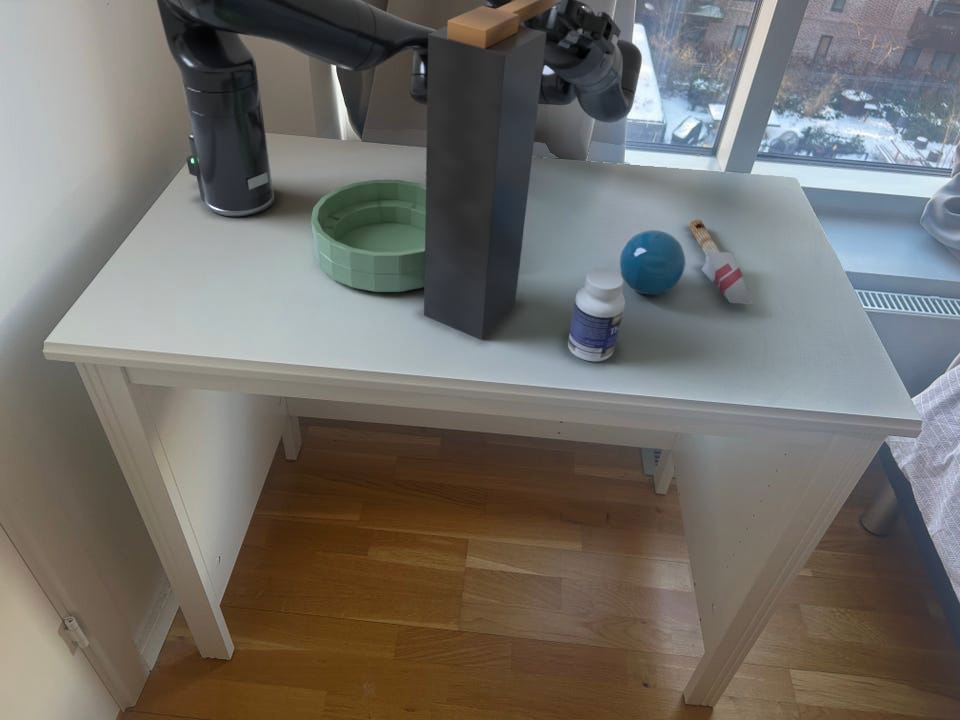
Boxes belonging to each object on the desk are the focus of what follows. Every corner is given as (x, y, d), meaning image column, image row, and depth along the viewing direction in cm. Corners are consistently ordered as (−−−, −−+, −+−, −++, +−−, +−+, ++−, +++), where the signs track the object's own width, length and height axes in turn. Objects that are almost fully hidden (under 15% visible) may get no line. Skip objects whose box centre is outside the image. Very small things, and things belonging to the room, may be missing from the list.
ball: (687, 288, 96) (703, 234, 90) (658, 315, 91) (674, 260, 85) (633, 264, 99) (645, 211, 94) (602, 289, 94) (614, 235, 89)
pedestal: (423, 315, 88) (428, 34, 67) (459, 283, 93) (473, 14, 72) (481, 340, 85) (505, 54, 64) (515, 305, 90) (546, 32, 69)
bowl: (285, 263, 94) (279, 222, 90) (373, 205, 106) (372, 166, 103) (405, 315, 87) (405, 273, 84) (485, 247, 100) (488, 207, 96)
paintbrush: (728, 292, 90) (685, 215, 105) (723, 311, 91) (681, 232, 107) (759, 293, 90) (712, 216, 106) (753, 312, 92) (707, 233, 107)
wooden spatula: (485, 49, 65) (486, 30, 64) (446, 39, 66) (447, 20, 65) (564, 8, 75) (566, -9, 74) (530, 0, 77) (531, -16, 76)
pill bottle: (612, 367, 83) (629, 296, 76) (564, 358, 83) (577, 287, 77) (615, 337, 87) (631, 268, 80) (569, 329, 87) (582, 260, 81)
